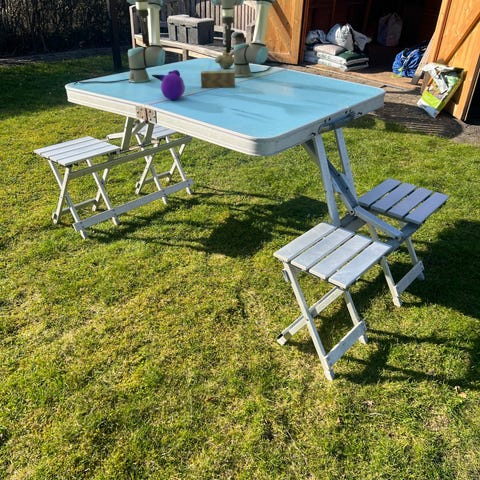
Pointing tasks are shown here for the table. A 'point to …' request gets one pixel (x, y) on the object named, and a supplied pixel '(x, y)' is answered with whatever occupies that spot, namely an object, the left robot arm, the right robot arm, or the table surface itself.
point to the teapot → (225, 60)
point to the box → (218, 79)
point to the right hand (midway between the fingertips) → (228, 51)
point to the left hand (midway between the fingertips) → (146, 45)
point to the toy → (171, 85)
